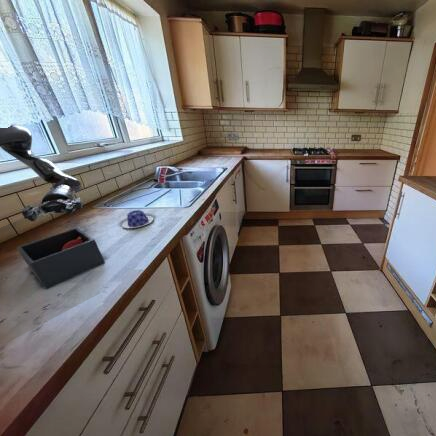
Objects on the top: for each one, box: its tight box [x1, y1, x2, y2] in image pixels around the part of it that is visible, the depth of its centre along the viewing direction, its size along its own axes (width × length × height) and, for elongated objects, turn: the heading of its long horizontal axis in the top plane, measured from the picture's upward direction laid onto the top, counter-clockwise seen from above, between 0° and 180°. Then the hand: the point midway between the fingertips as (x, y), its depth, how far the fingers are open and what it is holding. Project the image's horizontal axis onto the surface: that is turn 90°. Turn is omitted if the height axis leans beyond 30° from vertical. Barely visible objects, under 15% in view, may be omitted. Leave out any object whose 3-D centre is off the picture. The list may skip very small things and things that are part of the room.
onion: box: [62, 237, 84, 251], centre depth 75 cm, size 6×6×8 cm
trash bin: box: [16, 227, 106, 290], centre depth 72 cm, size 15×15×9 cm
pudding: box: [121, 209, 154, 229], centre depth 100 cm, size 12×12×5 cm
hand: (50, 215), depth 72 cm, fingers open, 8 cm apart
